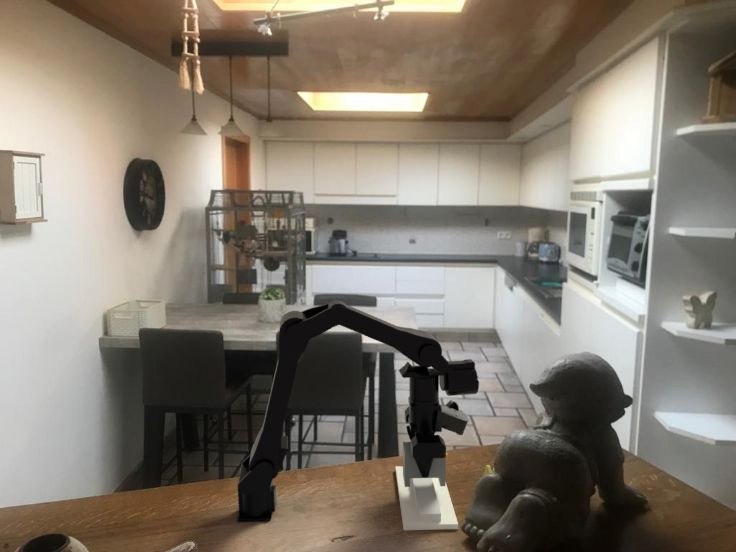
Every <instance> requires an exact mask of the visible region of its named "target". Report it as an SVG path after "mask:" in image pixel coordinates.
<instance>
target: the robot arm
mask: <svg viewBox="0 0 736 552" xmlns="http://www.w3.org/2000/svg"><path fill="white" fill-rule="evenodd" d="M338 326H341V327H343V328H346V329H348V330H351V331H352V332H355V333H358V334H360V335H363V336H366V337H368V338H370V339H372V340H375V341H377V342H379V343H382V344H384V345H386V346H389V347H391V348H393V349H395V351H398V352H399V353H401V355H403V356H404V357H406V358H407V359H409V360H410V361H412V362H413V363H415V364H417V365H412V364H411V363H410V362H409V361H407V362H406V363H405V365H403V366H402V367H400V368H399V370H398V371H399V373H400V375H401V377H402V378H403V379H406V378H408V379H409V380H408V381H409V385H408V386H409V387H408V388H409V390H408V391H409V393H408V395H409V396H408V405H409V406H408V407H406V408H405V410H404V421H405V424H408V425H406V432H407V435H408V438H409V440H410V441H409V442H411V446H410V448H411V452H412V457H413V458H414V459H415V461H416V464H417V466H418V468H419V471H420V473H421V475H422V478H428V476H429V472H430V469H431V465H432V462H433V459H434V458H445V457H446V452H447V446H446V442H445V439H443V437H442V436H441V435H440V434H436V433H442V432H443V429H444V430H447V431H450V432H452V433H456V435H459V436H463V435H464V432H465V430H466V428H467V425H468V423H469V418H468V417H467V415H466V413H465V412H464V411H463V410H461V409H460V408H459V404H458V402H457V401H456V400H455V401H454V400H449V401H448V402H447V403H446V404H443V405H441V404H440V399H439V397H440V396H439V393H440V391H439V389H441V391H442V392H445V394H446V396H448V397H449V396H452V397H453V396H466V395H477V393H478V392H479V387H480V381H479V379H478V373H477V369H476V363H475V361H474V360H473V359H471V358H469V359H463V360H452V361H450V360H447V359H446V357H444V355H443V349H442V346H441V343H440V342H439V341H438V340H437V339H436V338H435V337H434V336H433V335H432V334H431V333H429V332H428V331H425V330H421V329H417V328H412V327H403V326H398V325H395V324H393V323H390V322H388V321H386V320H384V319H381V318H379V317H377V316H374V315H372V314H369V313H368V312H365V311H362V310H360V309H358V308H355V307H353V306H351V305H348V304H346V303H345V302H344V301H342V300H339V299H336V300H335V299H334V300H332V301H330V302H328V303H325V304H321V305H317V306H314V307H310V308H307V309H305V310H302V311H299V310H290V311H288V312H286V313H285V314H284V315H282V317H281V318H280V321H279V330H278V331H279V332H278V354H277V355H278V356H277V361H276V366H275V371H274V375H273V379H272V383H271V388H270V392H269V393H270V394H269V398H268V403H267V406H266V411H265V414H264V419H263V424H262V426H261V427H260V430H259V432H258V433H257V436H256V437H255V439H254V443H253V445H252V447H251V450H250V454H249V455H248V456H247V457H246V458H245V459H244V460H243V461H242V462H241V463H240V464H241V465H240V471H239V474H238V475H239V476H238V481H237V499H238V504H237V505H238V513H237V516H236V521H237V522H257V521H258V522H259V521H261V522H263V521H267V522H268V521H271V520H272V517H273V515H274V514H273V513H275V512H276V509H277V504H278V502H277V486H276V485H275V484H274V479H276V478H277V476H278V475H279V473H280V470H282V471H284V469H285V467H284V464H285V462H284V460H285V458H286V456H287V453H288V449H289V448H288V445H289V444H288V435H282V431H283V428H284V424H285V419H286V414H287V411H288V406H289V402H290V398H291V393H292V389H293V385H294V379H295V376H296V371H297V368H298V365H299V363H300V361H301V359H302V357H303V355H304V353H305V350H306V349H307V346H308V344H309V342H310V340H311V339H313V338H317V337H319V336H320V335H322V334H324V333H326V332H327V331H329V330H331V329H333V328H335V327H338Z"/></svg>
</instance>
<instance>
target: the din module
mask: <svg viewBox="0 0 736 552" xmlns="http://www.w3.org/2000/svg"><path fill="white" fill-rule="evenodd" d="M410 446H411V441H403V442H402V466H403V478H404V485H405V487H410V478H422V475H421V473H420V471H419V468H418V466H417V464H416V461H415V459H414V458H413V457H412V452H411V448H410ZM448 457H449V456H448V452H447V451H446V457H445V458H434V459H433V462H432V465H431V469H430V472H429V476H428V478H438V480H439V483H440V486H445V482H446V479H447V477H446V468H447V467H446V466H447V465H446V464H447V463H448V460H449V459H448Z"/></svg>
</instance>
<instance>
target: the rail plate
mask: <svg viewBox="0 0 736 552" xmlns="http://www.w3.org/2000/svg"><path fill="white" fill-rule="evenodd" d="M395 477H396V483H397V491H398V492H397V493H398V497H399V499H398V500H399V505H400V506H399V508H400V513H401V514H400V515H401V520H402V528H403V531H428V530H431V531H432V530H435V531H436V530H459V522H458V518H457V516H456V515H457V514H456V513H455V509H454V506H453V502H452V499H451V495H450V492H449V488H448V486H447V482H446V481H445V486H440V483H439V480H438V478H410V487H405V485H404V478H403V465H402V466H399V465H398V466H395Z"/></svg>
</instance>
